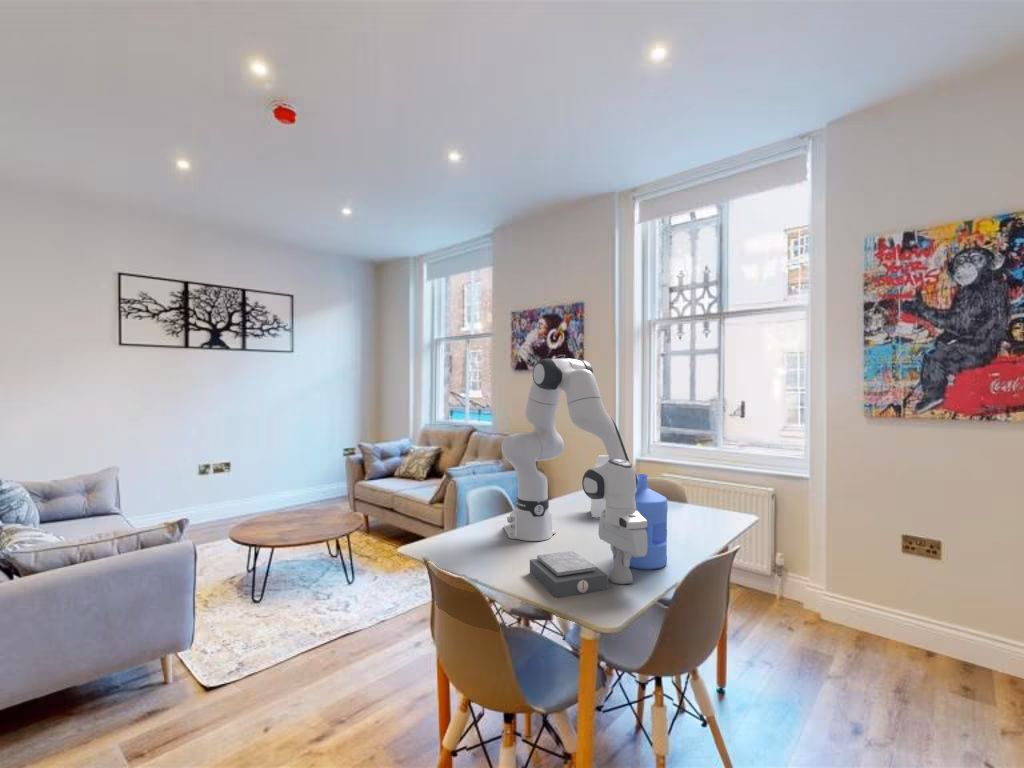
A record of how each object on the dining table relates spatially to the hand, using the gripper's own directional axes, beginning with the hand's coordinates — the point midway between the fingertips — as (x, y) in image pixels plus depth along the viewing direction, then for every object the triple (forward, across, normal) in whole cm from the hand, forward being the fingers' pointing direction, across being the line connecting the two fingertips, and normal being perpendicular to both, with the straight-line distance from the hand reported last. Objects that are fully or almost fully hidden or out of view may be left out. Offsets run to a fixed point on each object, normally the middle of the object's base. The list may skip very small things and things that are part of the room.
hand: (621, 563), depth 141 cm
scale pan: (0, -6, -15) cm, 16 cm away
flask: (+5, 0, 0) cm, 5 cm away
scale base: (+5, -5, -15) cm, 17 cm away
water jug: (+5, -11, +15) cm, 19 cm away
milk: (+4, -64, +34) cm, 72 cm away
